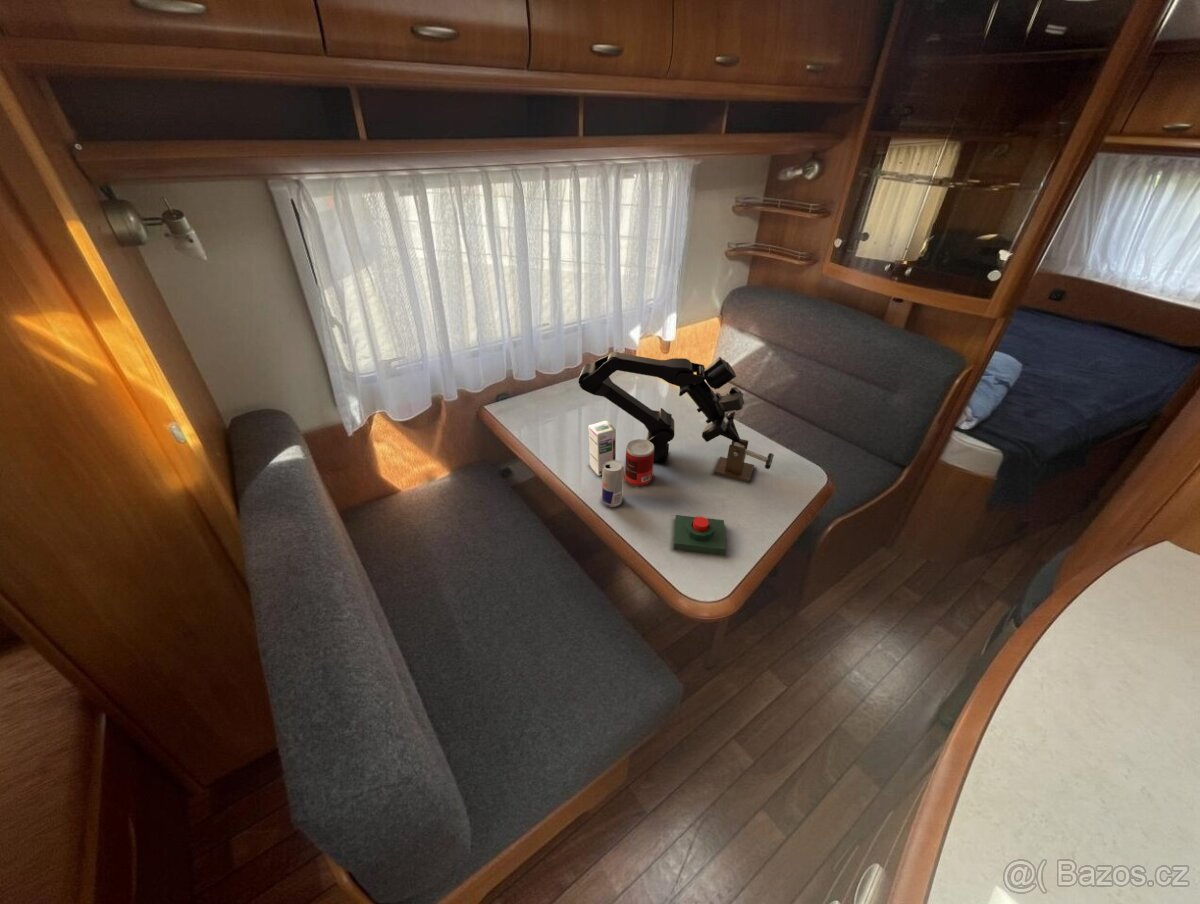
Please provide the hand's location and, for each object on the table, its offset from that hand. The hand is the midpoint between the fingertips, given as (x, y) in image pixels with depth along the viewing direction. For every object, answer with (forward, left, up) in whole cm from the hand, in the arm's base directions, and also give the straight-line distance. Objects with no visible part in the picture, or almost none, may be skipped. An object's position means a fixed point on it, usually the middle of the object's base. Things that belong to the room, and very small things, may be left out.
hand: (738, 441), depth 133 cm
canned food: (-27, -8, -11) cm, 30 cm away
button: (-10, -29, -7) cm, 31 cm away
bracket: (0, 0, -11) cm, 11 cm away
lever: (+4, -1, -4) cm, 6 cm away
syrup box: (-38, -5, -11) cm, 40 cm away
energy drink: (-33, -19, -11) cm, 39 cm away
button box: (-10, -29, -11) cm, 32 cm away
